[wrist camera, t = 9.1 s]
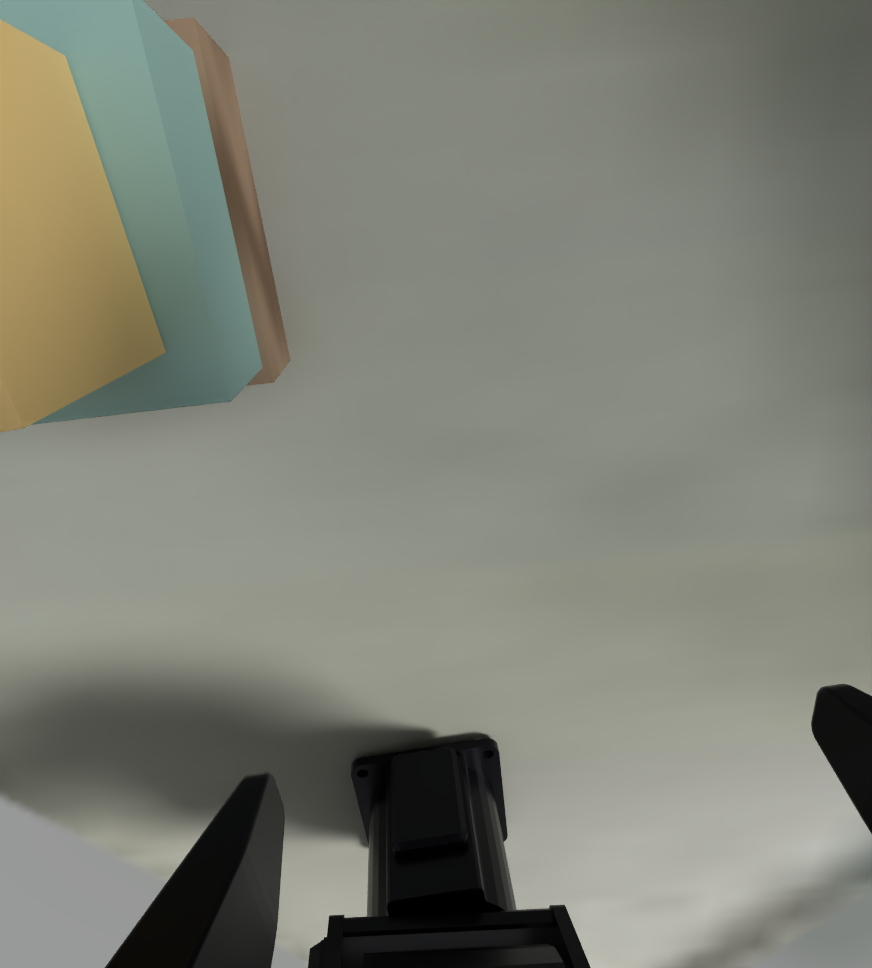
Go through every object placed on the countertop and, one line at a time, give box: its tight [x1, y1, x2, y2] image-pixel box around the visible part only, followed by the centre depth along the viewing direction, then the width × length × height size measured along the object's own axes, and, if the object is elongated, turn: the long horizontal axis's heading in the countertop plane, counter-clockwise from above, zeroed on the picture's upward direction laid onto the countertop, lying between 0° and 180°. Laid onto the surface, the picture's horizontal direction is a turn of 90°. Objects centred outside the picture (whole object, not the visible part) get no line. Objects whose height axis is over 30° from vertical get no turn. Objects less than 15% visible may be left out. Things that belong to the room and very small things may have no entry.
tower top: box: [0, 0, 263, 425], centre depth 12 cm, size 7×7×4 cm
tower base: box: [164, 18, 290, 386], centre depth 15 cm, size 8×8×4 cm
